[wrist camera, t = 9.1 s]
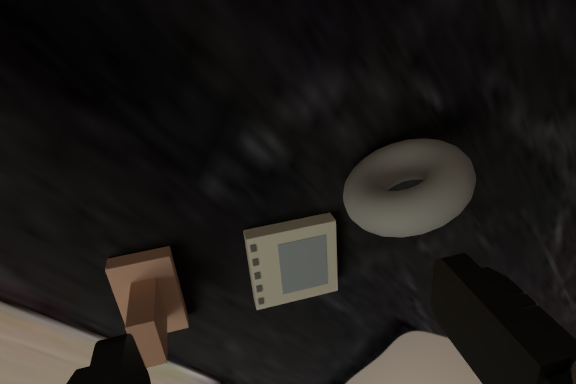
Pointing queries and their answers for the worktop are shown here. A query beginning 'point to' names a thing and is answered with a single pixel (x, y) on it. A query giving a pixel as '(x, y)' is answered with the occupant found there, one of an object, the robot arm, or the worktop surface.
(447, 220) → the donut
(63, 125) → the worktop surface
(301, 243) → the control panel
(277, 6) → the worktop surface
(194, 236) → the worktop surface
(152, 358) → the stub
